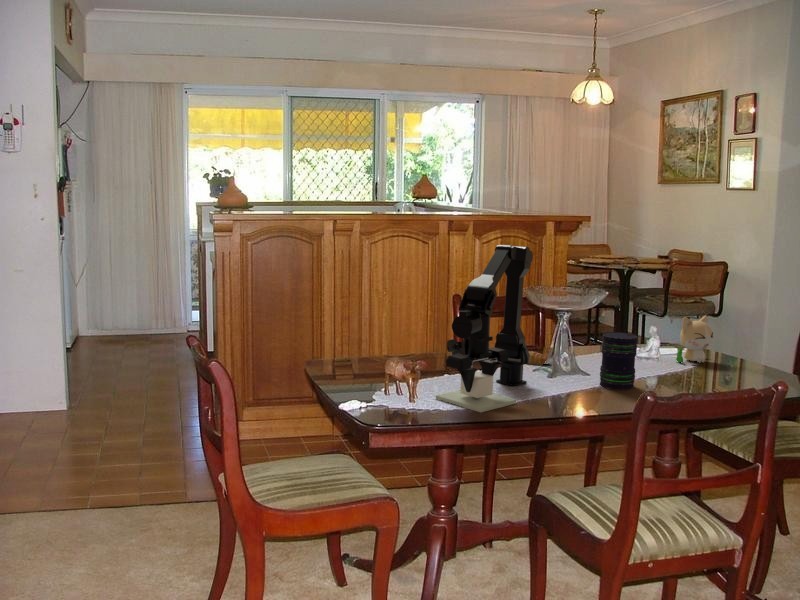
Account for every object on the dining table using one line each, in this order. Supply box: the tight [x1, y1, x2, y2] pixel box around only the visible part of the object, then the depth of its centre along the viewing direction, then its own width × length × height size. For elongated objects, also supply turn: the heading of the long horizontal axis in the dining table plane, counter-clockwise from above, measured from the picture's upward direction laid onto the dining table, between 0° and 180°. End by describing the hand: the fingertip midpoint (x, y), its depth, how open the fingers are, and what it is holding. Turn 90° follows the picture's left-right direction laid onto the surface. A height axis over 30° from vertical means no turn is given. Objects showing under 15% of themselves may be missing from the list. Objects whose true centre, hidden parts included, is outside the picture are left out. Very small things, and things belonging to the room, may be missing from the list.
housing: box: [459, 371, 494, 398], centre depth 222 cm, size 6×6×5 cm
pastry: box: [527, 350, 549, 366], centre depth 270 cm, size 9×7×4 cm
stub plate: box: [435, 389, 517, 413], centre depth 223 cm, size 14×16×4 cm
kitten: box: [675, 314, 714, 364], centre depth 278 cm, size 15×10×15 cm
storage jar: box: [599, 331, 638, 391], centre depth 242 cm, size 10×10×15 cm
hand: (476, 390), depth 223 cm, fingers closed on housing, 6 cm apart
